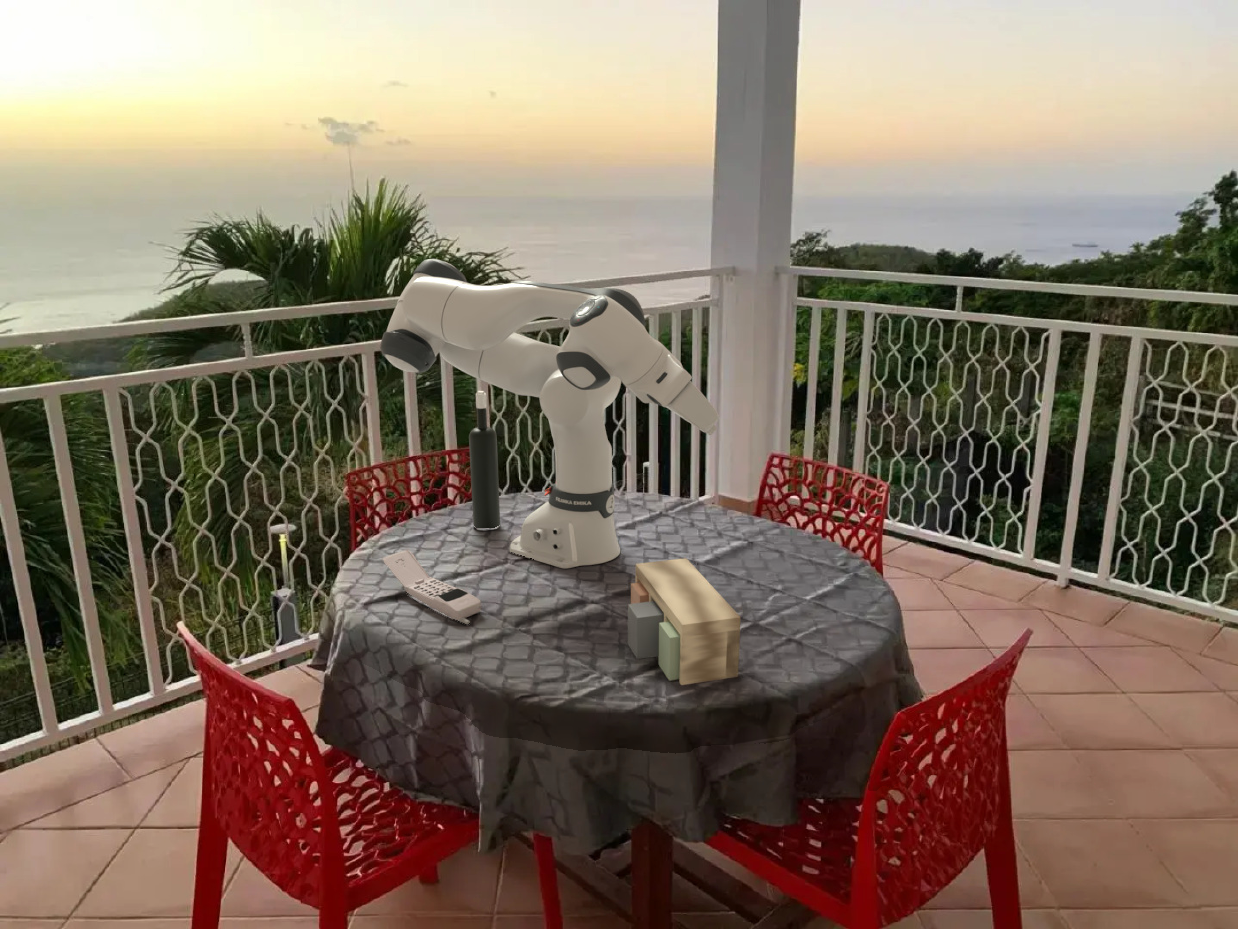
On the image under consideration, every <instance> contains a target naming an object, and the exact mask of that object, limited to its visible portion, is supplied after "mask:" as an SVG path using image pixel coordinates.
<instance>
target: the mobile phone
mask: <svg viewBox="0 0 1238 929" xmlns="http://www.w3.org/2000/svg"><path fill="white" fill-rule="evenodd" d="M381 559H382V561H383V563H384V564H385V565H386V567H387V568H388V569H389V570H390V572H392V574H393V575H394V577H395V578H396V579H397V580H398V581H399V583H400V584H401V585H402V586H403V587H404V589H405V591H406V592H407V593H409V594H410V595H412V596H414V597H415V598H417V599H418V600H420V601H422V602H424V603H425V604H427V605H429V606H430V607H432V608H434V609H436V610H438V611H439V612H441V613H444V614H445V615H447V616H449V617H451V618H452V619H451V620H453V619H455V620H454V621H456V620H458V621H461V622H463V623H465V624H469V623H470V624H471V621H470V620H469V619H467V618H468V617H471V616H473V615H475V614H479V613H480V612H481V611H482V602H481V599H479V598H478V597H476V596H475V595H473V594H471V593H470V592H468V591H467V590H464V589H462V588H460V587H455V586H453V585H451V584H448V583H445V582H443V581H441V580H439V579H437V578H434V577H433V576H431V577H430V575H429V574H428V573H427V571H426V570H425V569H424V568H423V566H422V565H421V564H420V562H419V561H418V560H417V559H416V556H415V555H414V553H413V552H411V551H410V550H409V549H406V550H402V551H397V552H395V553H392V554H389V555H386V556H385V557H382V558H381ZM407 593H406V594H407ZM458 621H457V622H458ZM461 622H460V623H461ZM463 623H462V624H463ZM465 624H464V625H465ZM470 624H469V625H470Z"/></svg>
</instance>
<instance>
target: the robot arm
mask: <svg viewBox="0 0 1238 929" xmlns="http://www.w3.org/2000/svg"><path fill="white" fill-rule="evenodd" d="M412 274H413V276H412V277H411V279H410V280H409V282H408V283H407V284H406V285H405V287H404V289H403V291H401V294H400V296H399V298H398V300H397V302H396V306H395V308H394V310H393V313H392V315H391V317H390V320H389V322H388V326H387V328H386V331H385V332H383V335H382V338H381V343H380V352H381V354H382V356H383V357H384V358H385V360H387V361H388V362H389V363H390V364H391V365H392V366H393V367H395V368H397V369H399V370H401V371H404V372H407V373H415V374H422V373H425V372H428V371H429V369H430V368H431V367H432V365H433V364H435V362H436V361H437V357H438V355H440V356H441V358H443V360H444V361H445V362H446V363H448V364H450V365H452V366H453V367H454V368H456V369H458V370H460V371H461V372H463V373H465V374H467V375H469V376H471V377H473V378H475V379H478V380H481V381H483V382H486V383H488V384H490V385H493V386H496V387H498V388H499V389H503V390H505V391H507V392H510V393H512V394H515V395H519V396H528V397H529V396H530V397H535V398H539V404H540V408H541V410H542V413H543V414H544V416H545V417H546V418H547V419H548V423H549V429H550V432H551V436H552V440H553V445H554V453H555V455H554V458H555V459H554V460H555V483H553V484H551V485H549V486H548V487H549V488H546V489H545V490H544V492H545V493H544V496H545V497H546V496H549V497H548V500H547V501H546V502H544V503H543V504H542V505H540V506H539V507H538V508H537V509H535V510H534V511H533V512H532V513H530V514H529V515H527V517H525V519H524V520H523V523H522V526H521V529H520V530H521V532H520V535H518V537H516V538H514V540H512V541H511V543H510V545H509V553H511V552H514V553H516V554H515V555H517V554H519V555H518V556H520V555H522V556H521V557H523V556H525V557H524V558H527V559H530V558H532V559H531V560H533V559H534V560H533V561H537V562H540V563H544V564H547V565H551V566H554V567H556V568H560V569H571V568H575V567H579V566H581V567H582V566H592V565H599V564H603V563H607V562H609V561H612V560H614V559H616V558H617V557H618V556H619V555H620V553H621V548H620V544H619V542H618V539H617V533H616V527H615V520H614V513H615V503H616V502H615V484H613V472H612V471H613V470H612V469H613V468H612V467H613V462H612V460H613V455H612V452H613V450H612V449H613V448H612V445H611V443H610V441H609V440H608V435H607V431H606V430H607V429H606V426H605V420H604V418H605V416H604V415H605V409H606V408H607V407H609V406H611V404H612V403H613V402H614V401H615V399H616V398H617V397H618V394H619V392H620V389H621V386H622V385H621V384H623V385H624V386H625V387H626V388H627V389H629V391H630V392H632V393H633V395H635V397H637V398H638V399H639V400H640V401H641V402H642V403H644V404H653V405H654V404H655V405H658V406H661V407H663V408H667V409H668V410H670V411H671V412H672V413H674V414H675V415H677V416H679V417H680V418H681V419H683V420H684V421H686V422H688V423H690V425H692V426H694V427H695V428H697V429H698V430H699V431H700V432H703V433H705V434H707V435H708V436H712V435H713V434H714V433H715V431H717V426H716V425H715V424H716V423H717V422H718V421H719V420H720V414H719V413H718V411H717V410H716V408H715V407H714V406H713V404H712V403H711V402H710V401H709V399H708V398H707V397H706V396H705V395H704V394H703V392H702V391H700V389H699V388H698V387H697V386H696V385H695V384H694V382H693V381H691V380H692V378H693V376H692V375H691V373H689V371H687V370H686V369H685V368H684V367H683V365H682V362H680V360H679V359H678V358H677V357H676V356H674V354H672V353H671V351H670V350H669V349H667V347H666V346H665V345H664V344H663V343H661V342H660V341H659V340H657V339H655V338H653V337H652V335H650V334H649V332H648V331H647V329H646V320H645V314H644V311H643V307H642V305H641V303H640V302H639V300H638V299H637V298H636V296H634V295H633V294H631V293H630V292H628V291H626V290H624V289H619V288H615V287H614V288H613V287H612V288H611V287H602V288H586V287H578V286H571V285H565V284H556V283H550V282H549V283H548V282H542V281H541V282H540V281H533V280H532V281H531V280H515V281H511V282H508V283H503V284H498V285H497V284H496V285H494V284H493V285H480V284H473V283H469V282H468V281H467V279H466V276H465V275H464V274H463V272H461V271H460V270H459V269H458V268H457V267H455V266H454V265H452V264H451V263H448V262H446V261H443V260H440V259H437V258H430V259H424V260H423V261H421V263H420V264H419V265H418V266H417V267H416V268H415V270H414V271H413V272H412ZM549 317H550V318H551V317H552V318H556V319H564V320H569V323H568V327H569V331H568V334H567V336H566V338H565V340H564V341H563V343H562V344H561V346H558V345H555V344H551V343H546V342H542V341H539V340H536V339H533V338H530V337H528V336H525V335H523V334H519V333H518V332H517V331H518V330H520V329H521V328H523V327H524V326H525V325H527V324H529V323H531V322H533V321H535V320H537V319H540V318H549ZM514 553H513V554H514Z"/></svg>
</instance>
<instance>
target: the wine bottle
mask: <svg viewBox="0 0 1238 929" xmlns="http://www.w3.org/2000/svg"><path fill="white" fill-rule="evenodd" d="M475 407H476V419H477V427H475V428H473V429H471V430H470V433H469V435H468V442H469V443H468V444H469V463H470V465H469V466H470V481H471V483H470V484H471V486H470V487H471V499H472V500H471V501H472V522H473V525H474V526H475V527H476V528H495V527H497V526H499V525H500V526H501V511H500V508H501V507H500V486H499V485H500V484H499V462H498V461H499V460H498V440H497V439H498V438H497V432H496V431H495V429H494V428H492V427H490V426H488V419H487V418H488V416H487V407H488V406H487V393H486V391H485V390H477V392H476V393H475ZM474 526H473V527H474Z"/></svg>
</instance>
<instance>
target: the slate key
mask: <svg viewBox="0 0 1238 929" xmlns="http://www.w3.org/2000/svg"><path fill="white" fill-rule="evenodd" d="M662 622H664V612H663V611H662V610H661V608H660V607H659V606H658V604H657V603H656V602H655V601H650V602H642V603H634V604H631V603H628V604H627V645H628V647H629V648H630V650H631V652H632V654H633V655H634V656H635V658H636V659H637V660H640V659H648V658H652V657H653V658H654V657H659V623H662Z"/></svg>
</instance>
